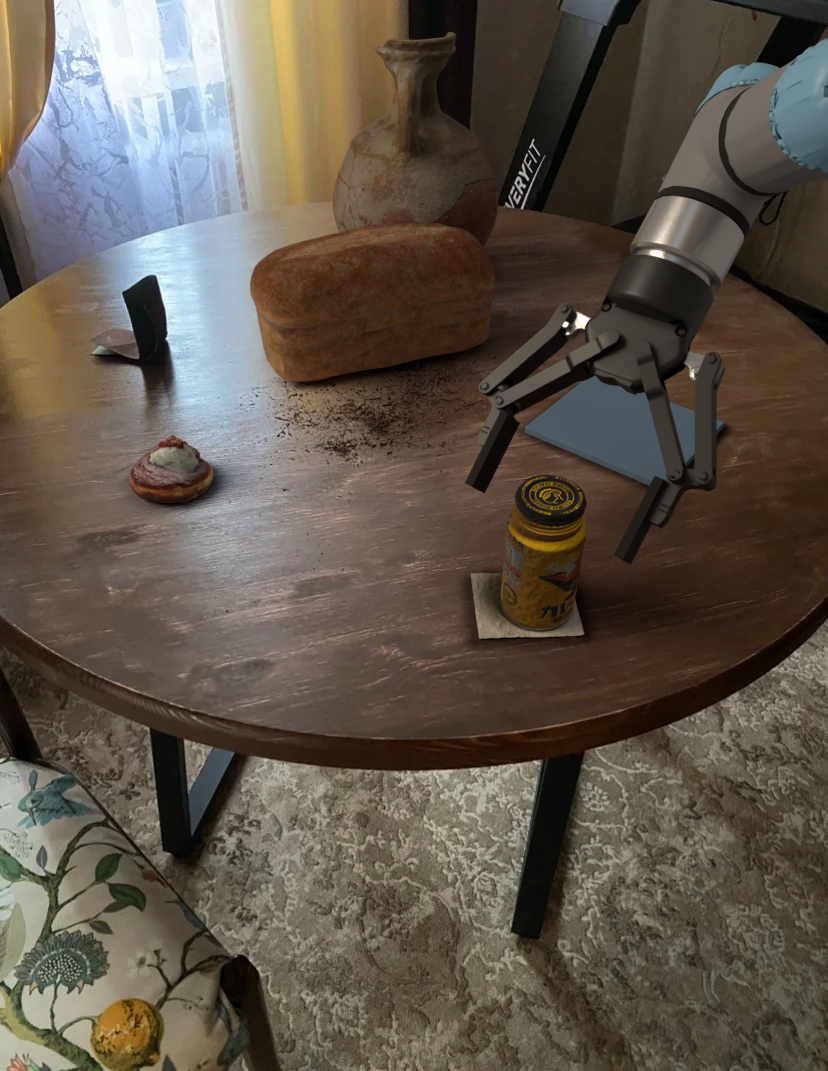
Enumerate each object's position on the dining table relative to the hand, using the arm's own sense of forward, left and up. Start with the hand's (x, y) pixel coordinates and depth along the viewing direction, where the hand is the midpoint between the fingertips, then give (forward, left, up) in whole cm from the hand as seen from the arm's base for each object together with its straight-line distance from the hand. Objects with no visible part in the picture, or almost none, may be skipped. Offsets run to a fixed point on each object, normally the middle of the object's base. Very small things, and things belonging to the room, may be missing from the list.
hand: (544, 522), depth 66 cm
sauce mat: (+6, -26, -8) cm, 28 cm away
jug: (+46, -41, -8) cm, 63 cm away
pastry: (+36, +10, -8) cm, 38 cm away
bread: (+37, -23, -8) cm, 44 cm away
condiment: (0, +2, -8) cm, 8 cm away
